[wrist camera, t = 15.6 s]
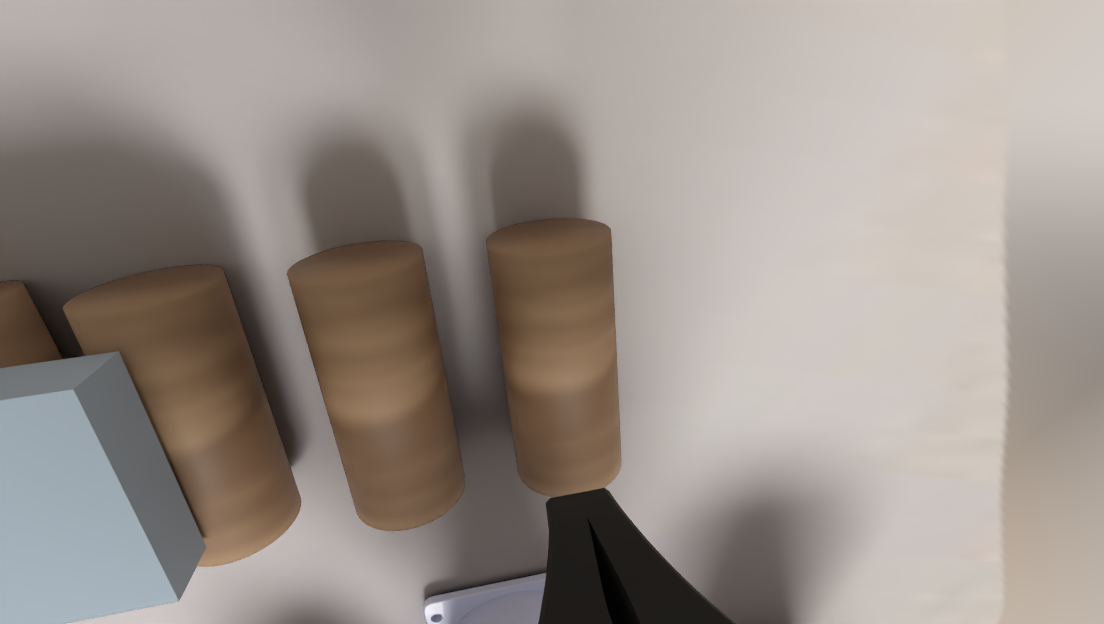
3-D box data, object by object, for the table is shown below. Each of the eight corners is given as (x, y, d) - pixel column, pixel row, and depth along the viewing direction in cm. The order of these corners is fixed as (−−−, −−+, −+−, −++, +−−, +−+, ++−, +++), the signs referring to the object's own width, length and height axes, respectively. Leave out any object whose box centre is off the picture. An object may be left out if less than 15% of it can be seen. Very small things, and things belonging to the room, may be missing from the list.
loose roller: (126, 487, 22) (157, 528, 20) (1, 551, 20) (18, 607, 17) (12, 273, 18) (33, 292, 16) (-160, 317, 16) (-165, 347, 14)
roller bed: (606, 422, 24) (634, 486, 20) (-148, 555, 20) (-278, 660, 17) (594, 213, 20) (626, 243, 16) (-326, 330, 17) (-541, 402, 13)
